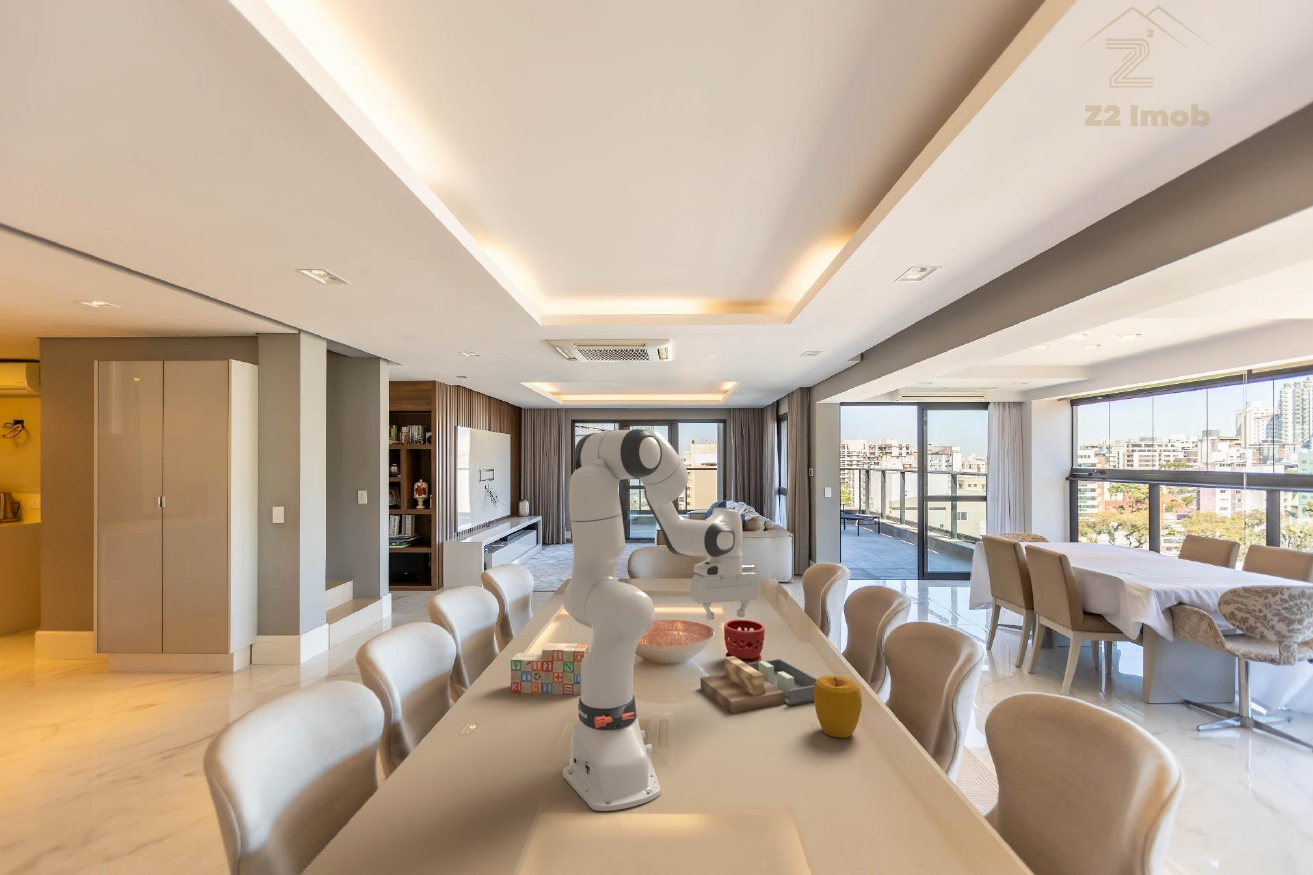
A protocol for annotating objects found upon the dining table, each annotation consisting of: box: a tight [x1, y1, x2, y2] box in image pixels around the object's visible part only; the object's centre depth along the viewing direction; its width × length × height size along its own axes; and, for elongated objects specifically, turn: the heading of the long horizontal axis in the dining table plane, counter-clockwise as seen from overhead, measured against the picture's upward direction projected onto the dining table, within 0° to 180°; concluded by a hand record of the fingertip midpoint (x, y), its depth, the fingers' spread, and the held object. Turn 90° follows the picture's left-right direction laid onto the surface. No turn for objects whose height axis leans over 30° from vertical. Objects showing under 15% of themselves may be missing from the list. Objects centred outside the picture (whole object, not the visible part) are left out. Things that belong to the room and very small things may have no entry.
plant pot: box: [723, 619, 766, 664], centre depth 180 cm, size 13×13×12 cm
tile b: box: [758, 660, 774, 684], centre depth 162 cm, size 5×5×2 cm
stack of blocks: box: [510, 642, 590, 696], centre depth 159 cm, size 21×6×12 cm, turn 85°
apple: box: [813, 675, 863, 739], centre depth 131 cm, size 11×11×13 cm
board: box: [700, 673, 786, 715], centre depth 153 cm, size 18×16×3 cm
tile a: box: [777, 671, 794, 697], centre depth 153 cm, size 5×5×2 cm
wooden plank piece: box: [724, 656, 765, 696], centre depth 154 cm, size 16×3×5 cm, turn 22°
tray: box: [747, 658, 818, 707], centre depth 158 cm, size 22×12×4 cm, turn 22°
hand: (725, 617), depth 151 cm, fingers open, 8 cm apart
